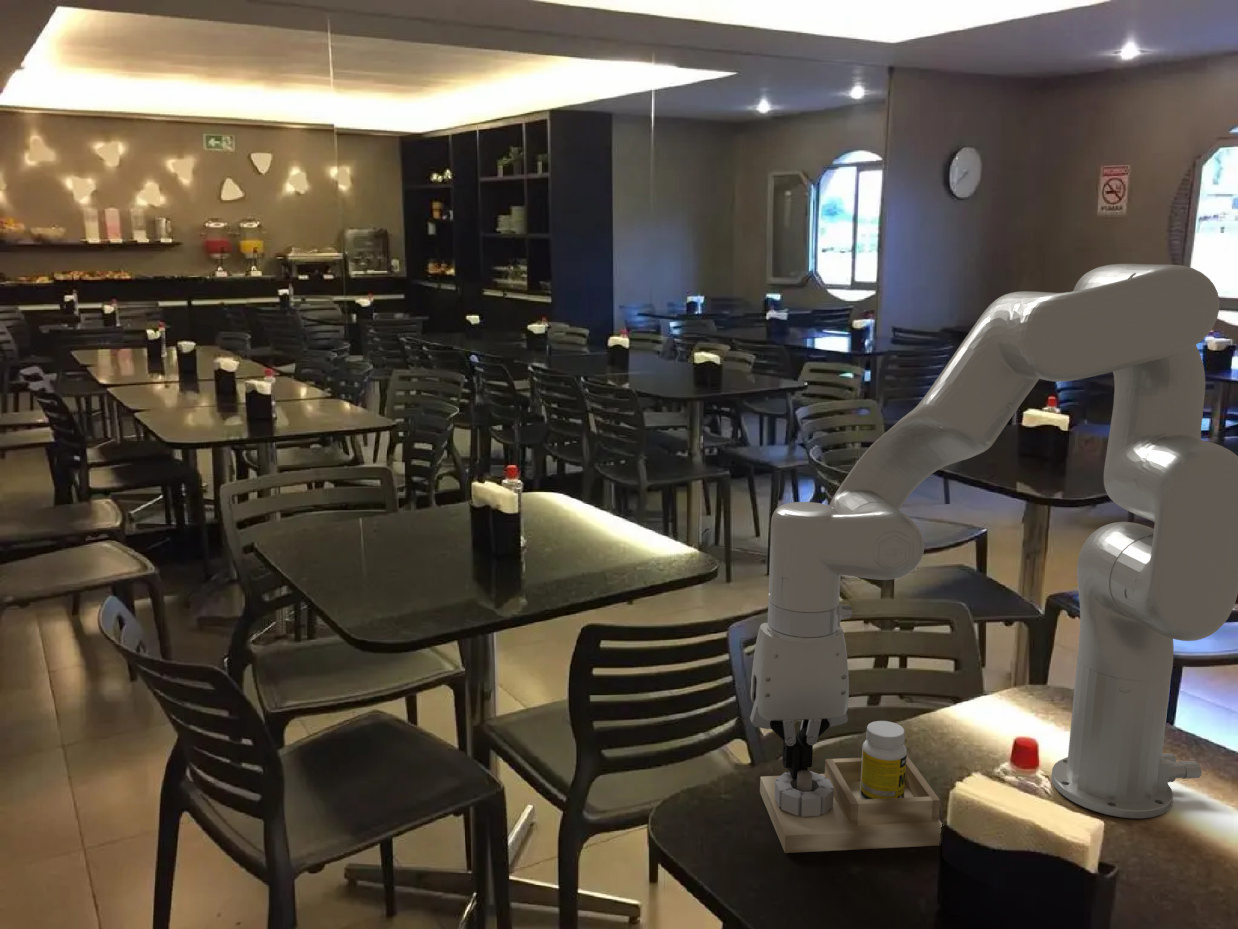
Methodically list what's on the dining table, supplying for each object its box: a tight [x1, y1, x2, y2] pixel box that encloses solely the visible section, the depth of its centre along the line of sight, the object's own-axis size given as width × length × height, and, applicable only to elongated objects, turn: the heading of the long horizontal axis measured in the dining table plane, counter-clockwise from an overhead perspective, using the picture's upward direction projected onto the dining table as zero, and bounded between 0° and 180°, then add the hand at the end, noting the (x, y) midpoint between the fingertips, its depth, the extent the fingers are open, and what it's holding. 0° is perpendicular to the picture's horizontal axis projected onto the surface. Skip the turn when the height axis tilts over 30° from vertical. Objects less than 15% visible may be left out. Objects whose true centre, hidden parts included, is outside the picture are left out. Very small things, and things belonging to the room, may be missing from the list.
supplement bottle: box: [860, 720, 908, 800], centre depth 109 cm, size 5×5×8 cm
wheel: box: [775, 770, 834, 817], centre depth 108 cm, size 6×6×2 cm
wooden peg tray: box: [759, 755, 943, 854], centre depth 109 cm, size 17×12×6 cm
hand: (796, 772), depth 111 cm, fingers closed
